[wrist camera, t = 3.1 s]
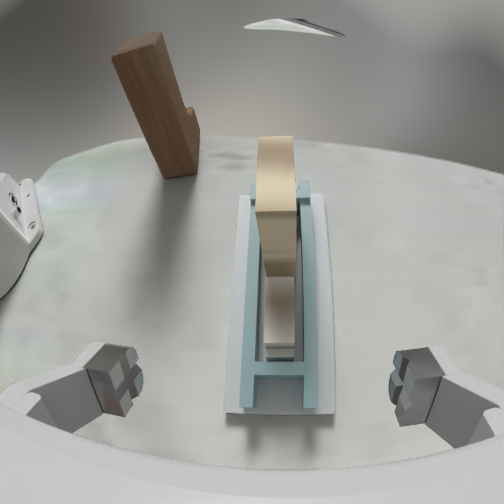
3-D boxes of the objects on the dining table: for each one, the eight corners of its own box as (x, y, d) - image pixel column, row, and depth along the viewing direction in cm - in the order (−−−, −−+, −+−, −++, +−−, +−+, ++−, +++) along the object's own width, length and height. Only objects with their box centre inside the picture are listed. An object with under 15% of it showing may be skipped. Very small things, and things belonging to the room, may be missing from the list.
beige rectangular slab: (295, 284, 28) (296, 210, 19) (267, 285, 29) (254, 211, 19) (293, 220, 32) (292, 135, 22) (269, 221, 32) (258, 137, 23)
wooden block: (170, 136, 43) (131, 27, 27) (200, 130, 42) (168, 17, 27) (163, 180, 38) (109, 57, 23) (197, 174, 38) (153, 44, 22)
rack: (333, 413, 23) (340, 413, 20) (225, 412, 24) (215, 411, 21) (322, 199, 34) (324, 174, 30) (240, 201, 35) (235, 176, 32)
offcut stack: (293, 361, 25) (294, 352, 21) (267, 361, 25) (263, 352, 22) (293, 294, 28) (294, 275, 24) (269, 295, 28) (265, 275, 25)
